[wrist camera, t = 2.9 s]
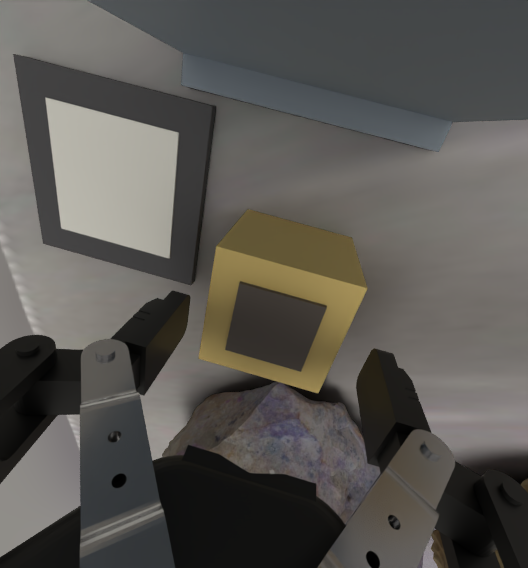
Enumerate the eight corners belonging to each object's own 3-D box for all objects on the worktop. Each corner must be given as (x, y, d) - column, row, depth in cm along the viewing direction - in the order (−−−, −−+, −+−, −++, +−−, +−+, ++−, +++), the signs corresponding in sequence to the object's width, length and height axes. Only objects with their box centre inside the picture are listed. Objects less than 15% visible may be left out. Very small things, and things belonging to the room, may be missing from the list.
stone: (505, 622, 10) (406, 717, 17) (441, 388, 19) (393, 513, 26) (84, 463, 15) (143, 588, 22) (192, 337, 24) (209, 454, 31)
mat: (24, 56, 15) (11, 53, 14) (216, 106, 14) (211, 106, 14) (50, 240, 20) (41, 244, 19) (194, 280, 19) (190, 286, 19)
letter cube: (244, 207, 17) (209, 246, 11) (351, 237, 16) (368, 290, 11) (227, 295, 20) (192, 360, 14) (318, 321, 19) (318, 396, 14)
